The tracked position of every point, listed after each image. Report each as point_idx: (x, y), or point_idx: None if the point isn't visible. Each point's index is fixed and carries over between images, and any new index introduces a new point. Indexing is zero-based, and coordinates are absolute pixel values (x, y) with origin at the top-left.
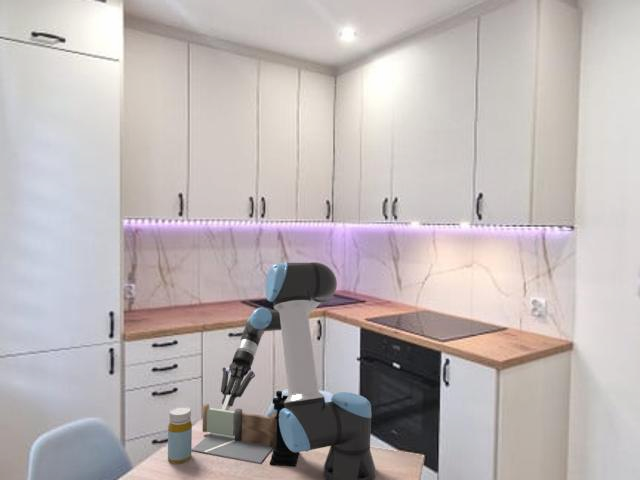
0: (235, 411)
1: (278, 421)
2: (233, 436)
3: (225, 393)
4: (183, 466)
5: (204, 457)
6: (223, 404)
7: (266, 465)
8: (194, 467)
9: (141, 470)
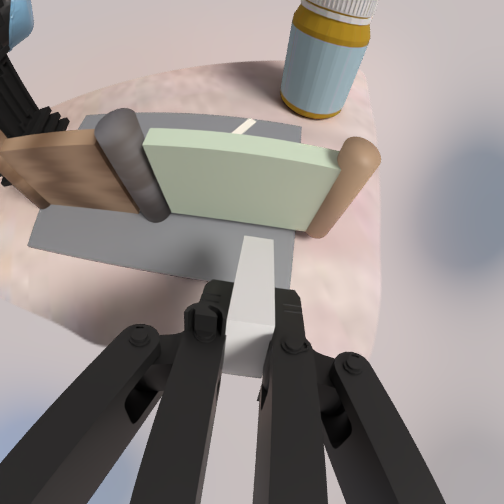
0: (134, 112)
1: (5, 59)
2: (182, 227)
3: (297, 340)
4: (279, 78)
5: (244, 107)
6: (271, 268)
7: (76, 117)
8: (250, 76)
9: (357, 72)
